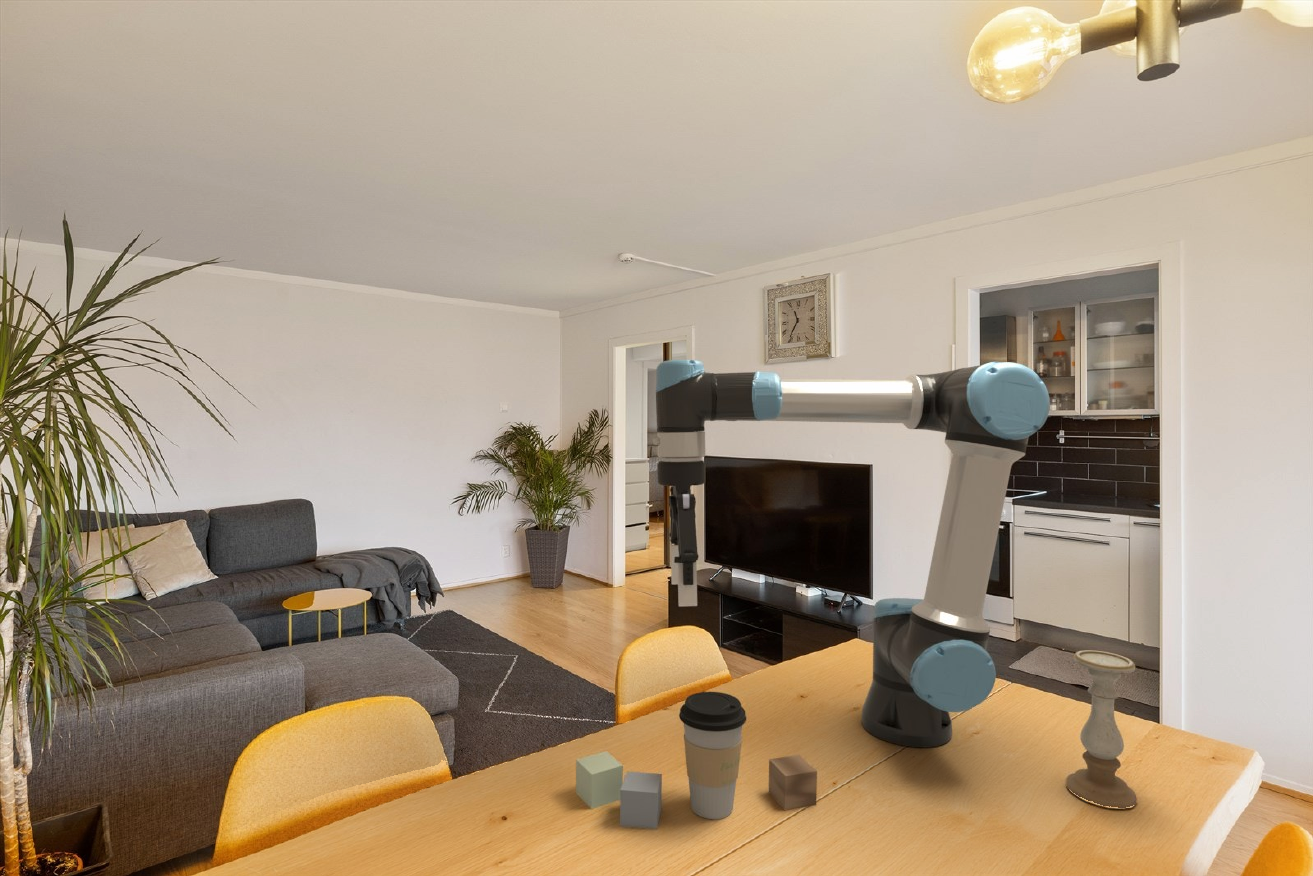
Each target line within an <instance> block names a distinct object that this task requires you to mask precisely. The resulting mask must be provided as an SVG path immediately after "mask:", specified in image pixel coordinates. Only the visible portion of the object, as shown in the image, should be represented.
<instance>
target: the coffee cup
mask: <svg viewBox="0 0 1313 876" xmlns="http://www.w3.org/2000/svg"><path fill="white" fill-rule="evenodd" d="M678 717H679V719H680V721H681V722H682V723H683V727H684V728H683V729H684V734H683V741H684V755H685V762H686V763H685V764H686V775H687V777H688V786H689V794H690V795H689V797H690V799H689V800H690V808H691V810H692V812H693V813H694V814H695V815H697V816H699V817H701V818H704V819H708V820H721V819H724V818H726V817H729V816H730V814H732V812H733V810H734V804H735V794H736V786H737V779H738V777H739V769H740V760H741V751H742V744H743V736H742V733H743V726H744V724H746V721H747V715H746V710H745V708H744V707H742V703H741V701H740V699H738V698H737V697H735V696H734V695H731V694H730V693H729V694H728V693H725V692H720V691H700V692H696V693H692V694H690V695H689V696H688V697H686V698H685V701H684V704H683V705H682V706H681V707H680V710H679V714H678Z"/></svg>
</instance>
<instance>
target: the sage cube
mask: <svg viewBox="0 0 1313 876" xmlns="http://www.w3.org/2000/svg"><path fill="white" fill-rule="evenodd" d="M623 775H624V764H622V763H621V762H620V761H619V760H618V759H617V758H615V757H614V756H613V755H612V754H611V753H609V752H608V751H607V750H605V751H601V752H599V753H595V754H592V755H588V756H584V757H581V758H577V759H575V793H576V795H577V796H578V798H580V800H582V801H583V802H584V803H585V804H586V805H587V807H589V808H590V809H591V810H593V809H597V808H599V807H604V806H606V805H609V804H612V803H616V802H618V801H620V790H621V787H622V784H623V781H624V776H623Z"/></svg>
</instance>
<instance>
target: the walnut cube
mask: <svg viewBox="0 0 1313 876" xmlns="http://www.w3.org/2000/svg"><path fill="white" fill-rule="evenodd" d="M817 780H818V771H817V770H816V768H814V767H813V766H812V765H811V764H810V763H809V762H808V761H807V760H805V759H804V758H803V756H801V755H800V754H794V755H788V756H782V757H781V756H780V757H775V758H769V759H768V793H769V795H770V796H771V797H772V798H773V799H774V800H775V802H777V804H778V805H779V806H780V807H781V808H782V809H783V810H784V812H786V811H790V810H797V809H802V808H807V807H812V806H817V792H818V791H817V789H818V788H817V787H818V781H817Z"/></svg>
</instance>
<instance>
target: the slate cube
mask: <svg viewBox="0 0 1313 876" xmlns="http://www.w3.org/2000/svg"><path fill="white" fill-rule="evenodd" d="M662 776H663V774H662V773H657V772H656V773H653V772H642V771H641V772H640V771H626V773H625V775H624V777H623V784H622V787H621V790H620V800H619V801H620V802H619V805H620V806H619V810H620V811H619V826H620V827H626V828H627V827H628V828H638V829H647V830H648V829H649V830H650V829H651V830H658V825H659V821H660V817H661V812H662V797H663V795H662V794H663V793H662V791H663V790H662V787H663V785H662V782H663V781H662V780H663V779H662V778H663V777H662Z"/></svg>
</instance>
